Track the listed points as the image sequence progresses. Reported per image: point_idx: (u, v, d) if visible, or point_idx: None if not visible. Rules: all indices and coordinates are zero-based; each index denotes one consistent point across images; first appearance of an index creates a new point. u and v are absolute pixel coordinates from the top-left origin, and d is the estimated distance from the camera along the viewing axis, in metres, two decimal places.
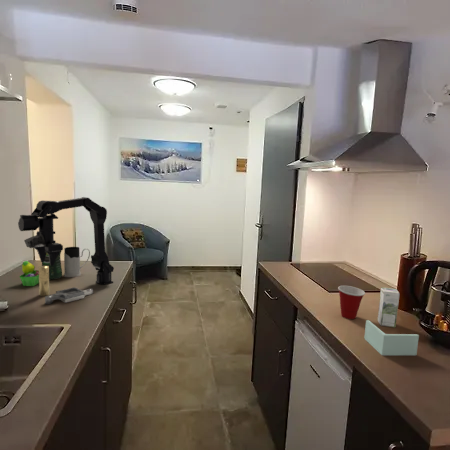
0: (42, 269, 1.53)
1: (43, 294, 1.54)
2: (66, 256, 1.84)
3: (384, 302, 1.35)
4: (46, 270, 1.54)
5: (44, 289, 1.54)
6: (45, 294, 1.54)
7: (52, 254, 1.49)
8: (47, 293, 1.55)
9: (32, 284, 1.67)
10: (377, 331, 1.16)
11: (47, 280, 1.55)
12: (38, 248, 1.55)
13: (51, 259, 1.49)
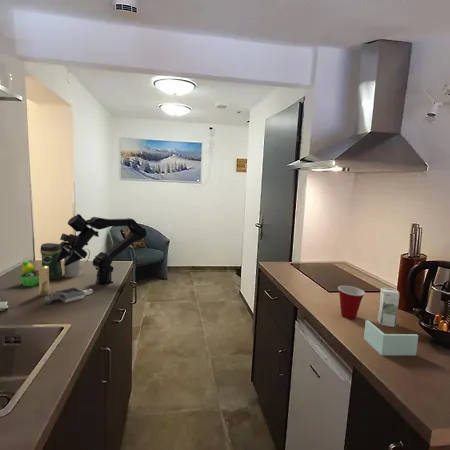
0: (42, 269, 1.53)
1: (43, 294, 1.54)
2: None
3: (384, 302, 1.35)
4: (46, 270, 1.54)
5: (44, 289, 1.54)
6: (45, 294, 1.54)
7: (73, 256, 1.58)
8: (47, 293, 1.55)
9: (32, 284, 1.67)
10: (376, 331, 1.16)
11: (47, 280, 1.55)
12: (63, 249, 1.65)
13: (69, 260, 1.57)
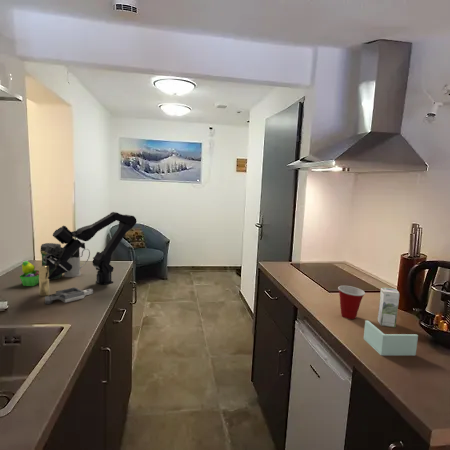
0: (42, 269, 1.53)
1: (43, 294, 1.54)
2: None
3: (384, 302, 1.35)
4: (46, 270, 1.54)
5: (44, 289, 1.54)
6: (45, 294, 1.54)
7: (58, 269, 1.53)
8: (47, 293, 1.55)
9: (32, 284, 1.67)
10: (376, 331, 1.16)
11: (47, 280, 1.55)
12: (48, 261, 1.61)
13: (53, 273, 1.52)
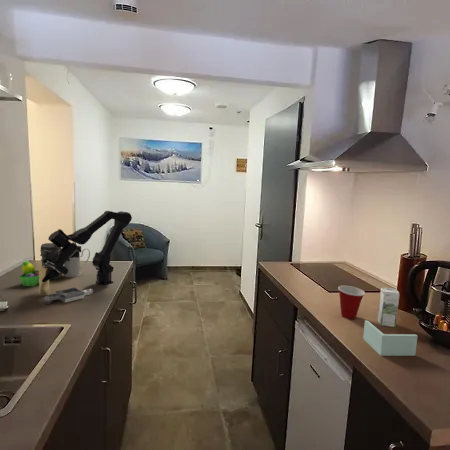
0: (42, 269, 1.53)
1: (43, 294, 1.54)
2: None
3: (384, 302, 1.35)
4: (46, 270, 1.54)
5: (44, 289, 1.54)
6: (45, 294, 1.54)
7: (51, 272, 1.54)
8: (47, 293, 1.55)
9: (32, 284, 1.67)
10: (376, 331, 1.15)
11: None
12: None
13: (47, 276, 1.53)
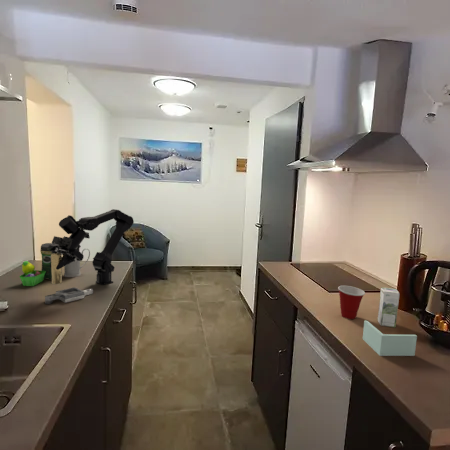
0: (56, 256, 1.50)
1: (57, 282, 1.51)
2: None
3: (384, 302, 1.35)
4: (59, 257, 1.51)
5: (58, 276, 1.51)
6: (59, 282, 1.52)
7: (65, 259, 1.52)
8: (60, 281, 1.52)
9: (32, 284, 1.67)
10: (375, 331, 1.15)
11: None
12: None
13: (61, 263, 1.50)
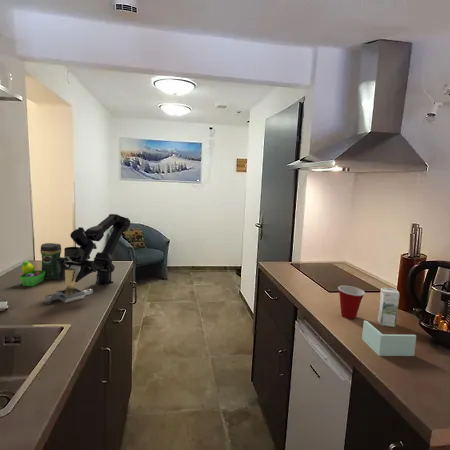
0: (71, 272, 1.50)
1: None
2: (66, 256, 1.84)
3: (384, 302, 1.35)
4: (74, 272, 1.52)
5: (73, 291, 1.52)
6: None
7: (83, 271, 1.52)
8: None
9: (32, 284, 1.67)
10: (374, 331, 1.15)
11: (74, 282, 1.53)
12: (64, 265, 1.55)
13: (80, 275, 1.51)
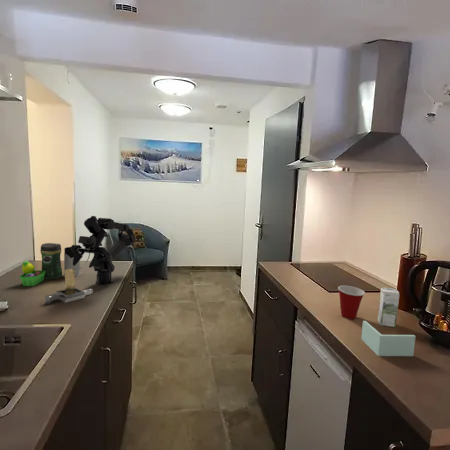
0: (71, 272, 1.50)
1: None
2: (66, 256, 1.84)
3: (384, 302, 1.35)
4: (74, 272, 1.52)
5: (73, 291, 1.52)
6: None
7: (96, 257, 1.60)
8: None
9: (32, 284, 1.67)
10: (373, 332, 1.15)
11: (74, 282, 1.53)
12: (77, 252, 1.63)
13: (93, 261, 1.58)
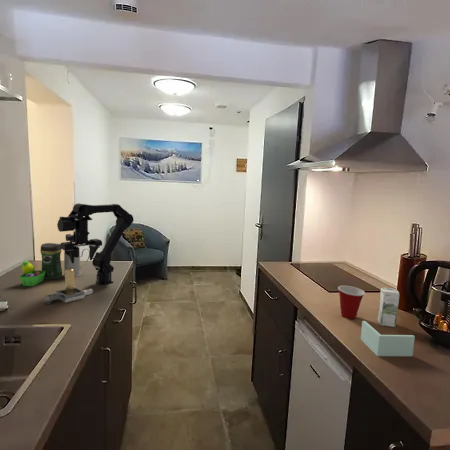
0: (71, 272, 1.50)
1: None
2: (66, 256, 1.84)
3: (384, 302, 1.35)
4: (74, 272, 1.52)
5: (73, 291, 1.52)
6: None
7: (70, 252, 1.61)
8: None
9: (32, 284, 1.67)
10: (373, 332, 1.15)
11: (74, 282, 1.53)
12: (90, 247, 1.70)
13: None
